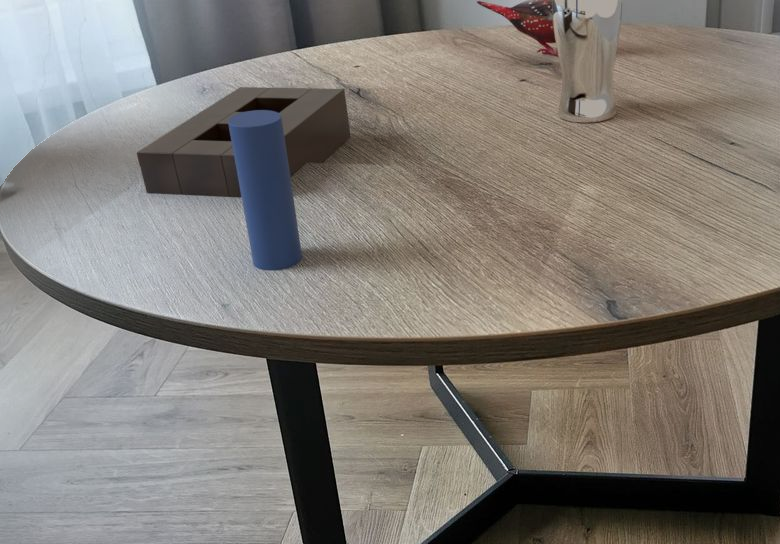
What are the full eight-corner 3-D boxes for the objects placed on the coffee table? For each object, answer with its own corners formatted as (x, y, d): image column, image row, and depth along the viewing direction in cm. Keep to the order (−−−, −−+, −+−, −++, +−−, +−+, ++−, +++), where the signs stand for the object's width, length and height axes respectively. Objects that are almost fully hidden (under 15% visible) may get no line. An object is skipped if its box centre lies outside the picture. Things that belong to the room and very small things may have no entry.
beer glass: (634, 115, 100) (637, -38, 93) (579, 129, 97) (578, -28, 90) (594, 100, 106) (594, -46, 98) (541, 113, 103) (537, -36, 95)
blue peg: (247, 282, 71) (218, 125, 65) (268, 260, 74) (242, 108, 68) (292, 286, 70) (267, 128, 64) (311, 264, 73) (289, 111, 67)
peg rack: (149, 206, 85) (135, 152, 83) (248, 133, 102) (239, 86, 99) (268, 211, 83) (258, 156, 80) (351, 136, 99) (344, 88, 97)
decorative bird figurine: (599, 62, 119) (599, -23, 114) (474, 52, 126) (469, -28, 121) (608, 56, 121) (608, -28, 116) (484, 47, 128) (479, -32, 123)
